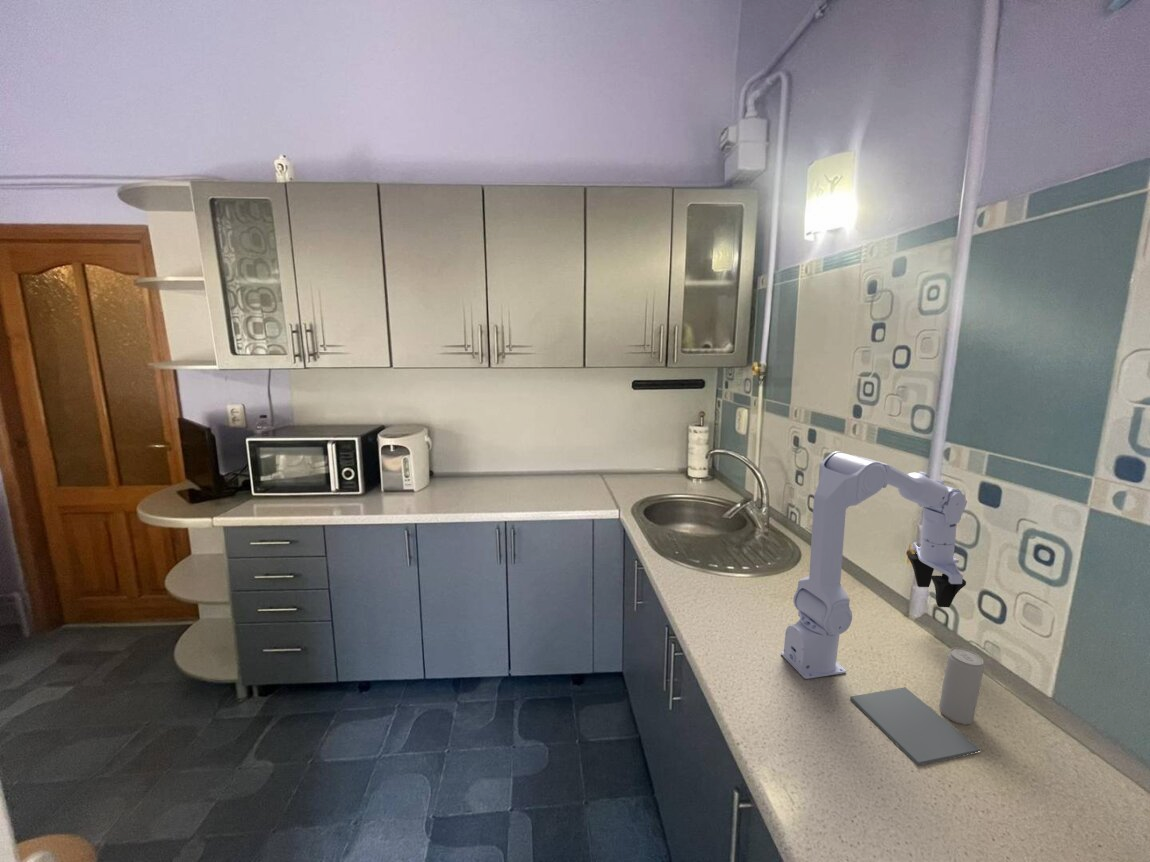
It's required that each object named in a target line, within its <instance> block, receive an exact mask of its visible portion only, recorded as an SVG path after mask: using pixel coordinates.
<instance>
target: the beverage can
mask: <svg viewBox="0 0 1150 862" xmlns="http://www.w3.org/2000/svg"><path fill="white" fill-rule="evenodd" d="M984 662H985V661H984V659H983V658H982V657H981V656H980V655H979V654H978V653H976V652H974V651H972V650H969V649H967V648H962V647H952V648H950V650H949V652H948V653H947V660H946V665H945V671H944V675H943V676H944V677H943V681H942V688H941V693H940V699H939V705H938V708H939V710H940V712H941V714H942V715H943V716H945V718H947V719H948V720H950V721H951V720H952V722H953V721H954V722H953V723H955V722H956V724H958V723H960V724H959V725H963V724H967V725H970V724H972V723H974V718H975V713H976V709H977V704H978V701H979V694H980V689H981V686H982V685H981V684H982V679H983V674H984V669H985V663H984Z"/></svg>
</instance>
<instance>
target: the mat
mask: <svg viewBox="0 0 1150 862" xmlns="http://www.w3.org/2000/svg"><path fill="white" fill-rule="evenodd" d="M850 701H851V702H852V703H853V704H854V705H855V706H857V708H859V709H860V710H861V712H862V713H864V715H866V716H867V718H869V720H870V721H872V722H873V723H874V724H875V726H877V727H878V729H880V730H881V731H882V732H883V733H884V734H885V735H886V736H887V737H888V738H890V740H891V741H892V742H893V743H894V744H895V745H896V746H898V747H899V749H900V750H901V751H902V752H904V753H905V754H906V755H907V756H908V757H909V759H910V760H912V761H913V763H915V764H916V765H917V766H922V765H927V764H931V763H936V762H941V761H945V760H950V759H955V758H954V757H956V758H959V756H961V757H964V756H963V755H966V756H968V755H967V754H970V755H972V754H971V753H975V752H978V751H980V752H981V751H982V750H981V748H980V747H978V745H976V744H975V743H974V742H973V741H971V740H970V739H969V738H968V737H966V736H965V734H963V733H962V732H960V731H959V730H958V729H956V727H954V726H953V725H952V724H951V723H950V722H948V720H946V719H944V718H943V717H942V716H941V715H940V714H939V713H937V712H936V711H935V710H934V709H932V707H930V706H929V705H928V704H926V703H925V702H924V701H923V700H922V699H920V698H919V697H918V696H917V695H916V694H914V693H913V692H912V691H910V689H908V688H907V687H904V686H903V687H899V688H892V689H887V690H882V691H881V690H880V691H874V692H870V693H864V694H863V693H862V694H857V695H853V696H850ZM975 754H976V753H975Z"/></svg>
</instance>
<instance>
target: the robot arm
mask: <svg viewBox="0 0 1150 862" xmlns="http://www.w3.org/2000/svg"><path fill="white" fill-rule="evenodd" d="M818 468H819V471H818V472H819V473H818V483H817V487H816V490H815V492H814V495H813V496H814V497H813V508H812V523H811V524H812V526H811V541H810V542H811V543H810V557H809V558H810V560H809V572H808V573H809V575H807V576H804V577H802V578H801V579H799V580H798V581H797V589H796V591H795V593H794V595H793V605H794V607H795V609H796V610H797V611H798V614H797V616H798V617H799V620H798V621H797V622H795V623H794V624H790V625H789V626H787V628H786V630H785V634H784V645H783V646H784V647H783V650H782V651H781V652H780V654H781V655H782V656H783V658H784V659H785V660H786V661H787V662H788V663H789V664H790V665H791V666H792V667H793V668H794V669H795V670H796V671H797V672H798V674H799V675H801V677H803V679H804V680H805V679H806V680H809V679H816V678H821V677H822V678H823V677H827V676H834V675H840V674H846V673H847V670H846V669H845V668H844V667H843V666H842V665H841V664H840V663H839V662H838V661H837V659H838V658H837V657H838V652H839V651H838V650H839V644H840V643H839V642H840V635H842V634H843V633H845V632H846V631H847V630H848V629H849V628H850V627H851V624H852V622H853V613H852V610H851V607H850V601H851V600H850V598H849V596H848V594H847V593H846V591H845V589H844V588H843V586H842V584H841V579H842V567H843V555H844V552H843V551H844V541H845V538H844V537H845V526H846V524H845V523H846V514H847V513H846V512H847V509H848V508H849V507H853V506H857V505H859V504H861V503H862V502H863V501H866V500H867V499H869V498H871V497H872V496H874V495H876V494H878V493H879V492H880V491H881V490H882V489H885V488H887V486H888V485H889V486H891V487H894V488H897V489H898V493H899V494H900V496H901V497H902V498H903V499H906V500H908V501H911V502H913V503H915V504H917V505H918V506H919V507H923V510H922V511H923V513H922V523H921V534H920V536H921V537H920V542H921V546H920V547H918V546H917V545H916V544H917V542H918V541H917V542H912V550H913V549H914V550H916V552H914V553H915V554H914V553H908V554H907V558H908V560H909V561H910V564H911V566H912V568H913V572H914V577H915V581H916V585H917V587H918V588H929V587H930V585H931V581H932V583H933V585H934V589H935V601H936V606H937V607H939V608H950V607H951V605H952V602H953V601H954V598H955V597H956V595H957V594H958V593H959V592H960V590H961V589H963V588H964V587H965V586H966V585H967V580H965V579H964V576H963V574H962V573H961V572H960V571H959V567H958V566H957V564H958V563H959V562H960V559H959V558H958V559H959V560H958V559H956V558H954V556H955V555H954V554H955V549H956V548H955V547H956V546H955V545H956V535H957V526H958V524H959V523H960V521H961V519H962V514H963V512H964V511H965V509H966V507H967V503H968V500H966V496H965V494H964V493H963V491H961V490H960V489H957V488H955V487H954V488H953V487H951V486H947V485H945V482H944V481H943V480H939V479H932V478H930V477H931V474H929V473H927V472H925V471H924V472H923V471H918V472H909V473H906V472H903V471H901V470H900V469H898V468H896V467H894V466H892V465H890V464H889V463H885V462H881V461H878V460H874V459H871V458H866V457H864V456H860V455H855V454H848V453H846V452H843V451H841V450H836V451H833V452H831V453H829V454H828V455H827V456H826V457H825V458H824V459H823V460H822V461H821V462H820V463H819V467H818ZM916 553H917V554H916ZM934 570H935V571H938V572H940V573H942V574H941V575H933V573H934Z"/></svg>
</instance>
